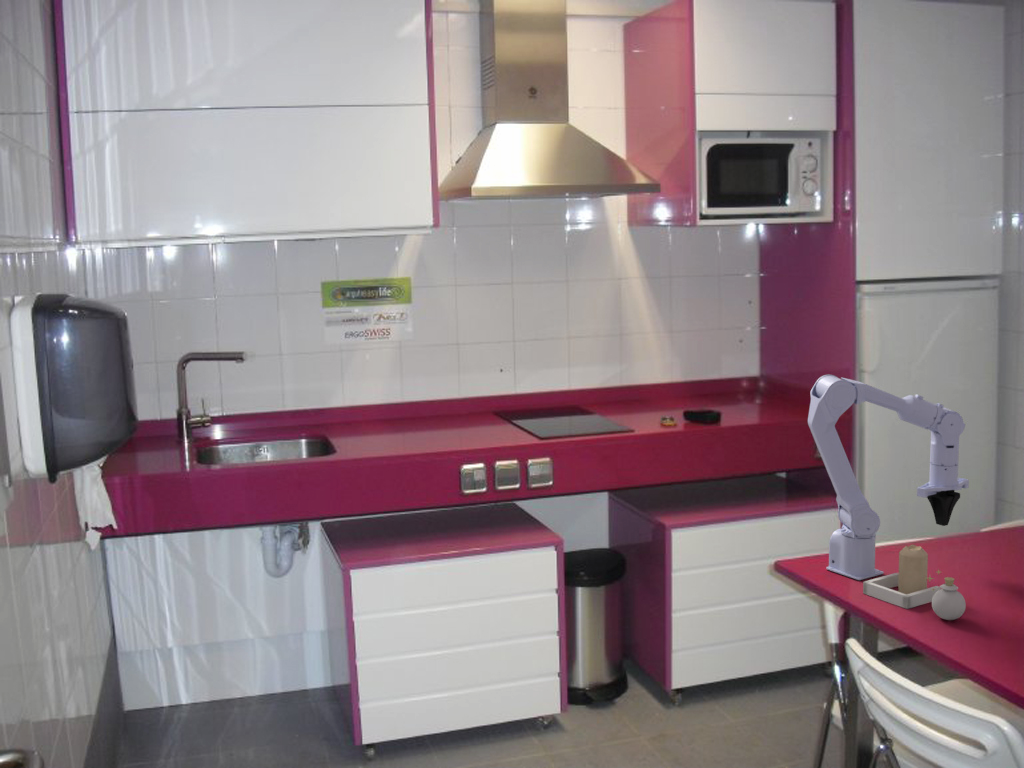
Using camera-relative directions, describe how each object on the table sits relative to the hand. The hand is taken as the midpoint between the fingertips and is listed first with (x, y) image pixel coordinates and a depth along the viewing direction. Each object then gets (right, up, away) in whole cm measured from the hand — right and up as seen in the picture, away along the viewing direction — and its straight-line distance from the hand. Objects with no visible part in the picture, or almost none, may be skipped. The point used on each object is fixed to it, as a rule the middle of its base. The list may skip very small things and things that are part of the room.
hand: (942, 524), depth 227 cm
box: (-13, -13, -13) cm, 22 cm away
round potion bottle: (-10, -15, -26) cm, 32 cm away
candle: (-11, -13, -12) cm, 21 cm away
